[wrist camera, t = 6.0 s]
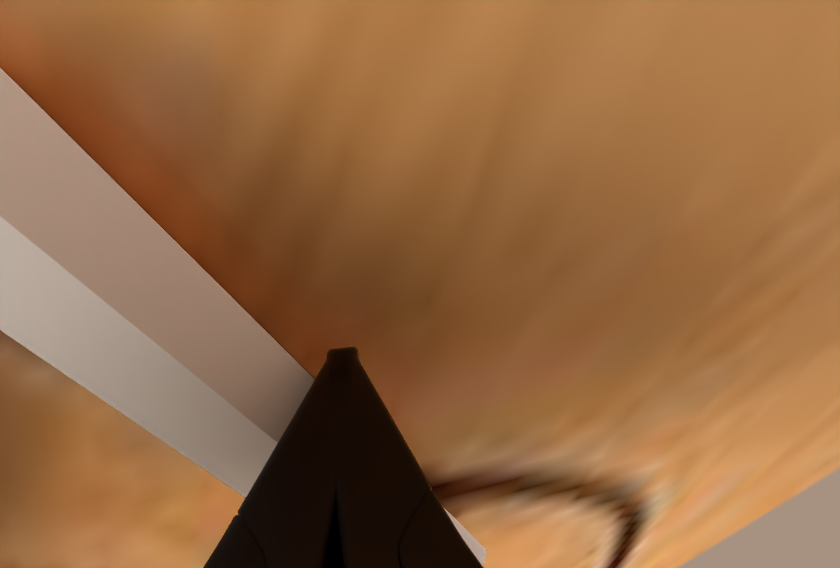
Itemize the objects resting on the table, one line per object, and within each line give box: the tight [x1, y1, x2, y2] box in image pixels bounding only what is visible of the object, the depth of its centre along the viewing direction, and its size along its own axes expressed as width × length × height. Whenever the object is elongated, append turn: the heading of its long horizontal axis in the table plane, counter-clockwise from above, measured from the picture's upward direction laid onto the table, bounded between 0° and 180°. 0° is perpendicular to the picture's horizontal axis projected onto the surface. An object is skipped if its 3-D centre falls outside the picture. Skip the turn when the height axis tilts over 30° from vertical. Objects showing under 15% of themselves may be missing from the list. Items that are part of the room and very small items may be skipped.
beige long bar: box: [0, 68, 487, 566], centre depth 9 cm, size 3×2×16 cm
